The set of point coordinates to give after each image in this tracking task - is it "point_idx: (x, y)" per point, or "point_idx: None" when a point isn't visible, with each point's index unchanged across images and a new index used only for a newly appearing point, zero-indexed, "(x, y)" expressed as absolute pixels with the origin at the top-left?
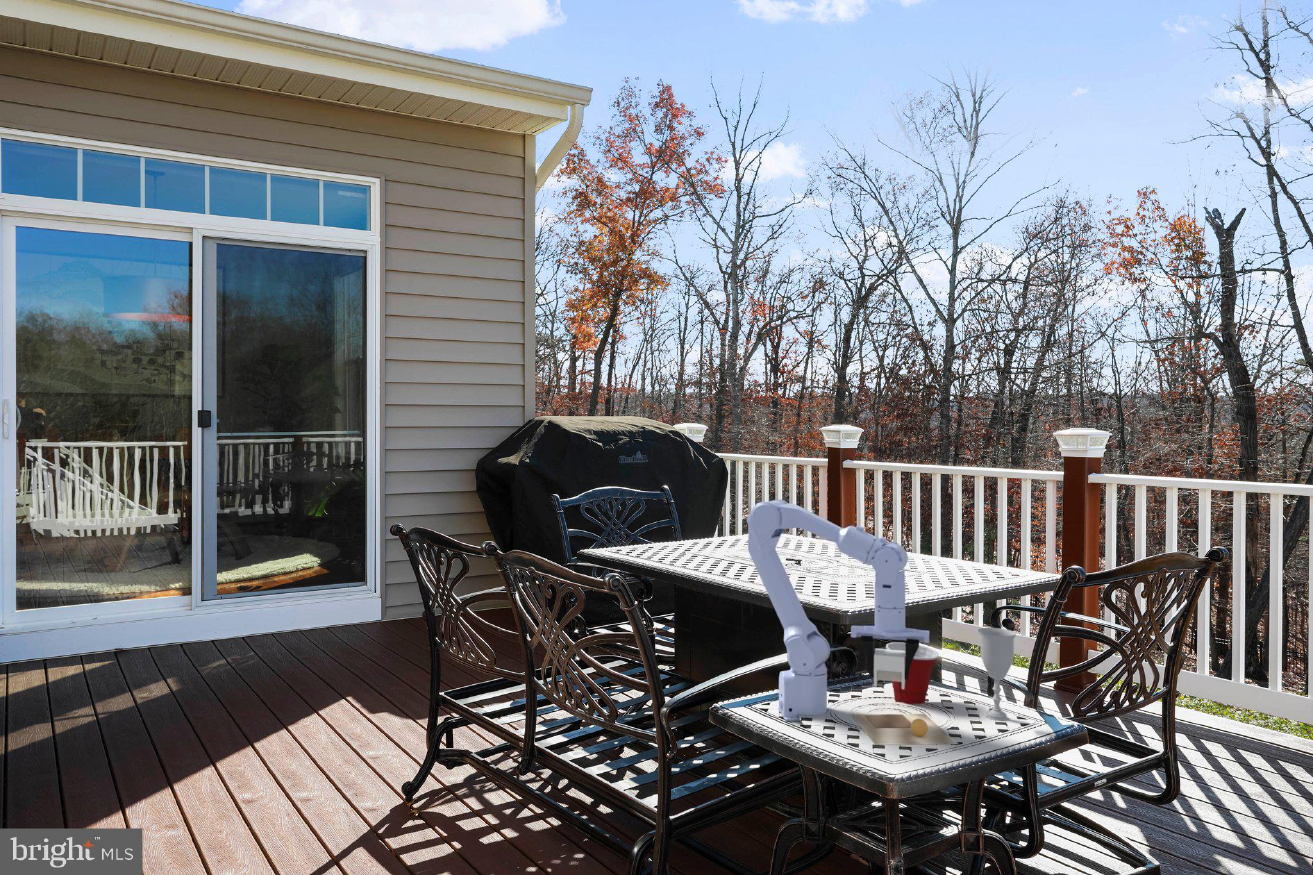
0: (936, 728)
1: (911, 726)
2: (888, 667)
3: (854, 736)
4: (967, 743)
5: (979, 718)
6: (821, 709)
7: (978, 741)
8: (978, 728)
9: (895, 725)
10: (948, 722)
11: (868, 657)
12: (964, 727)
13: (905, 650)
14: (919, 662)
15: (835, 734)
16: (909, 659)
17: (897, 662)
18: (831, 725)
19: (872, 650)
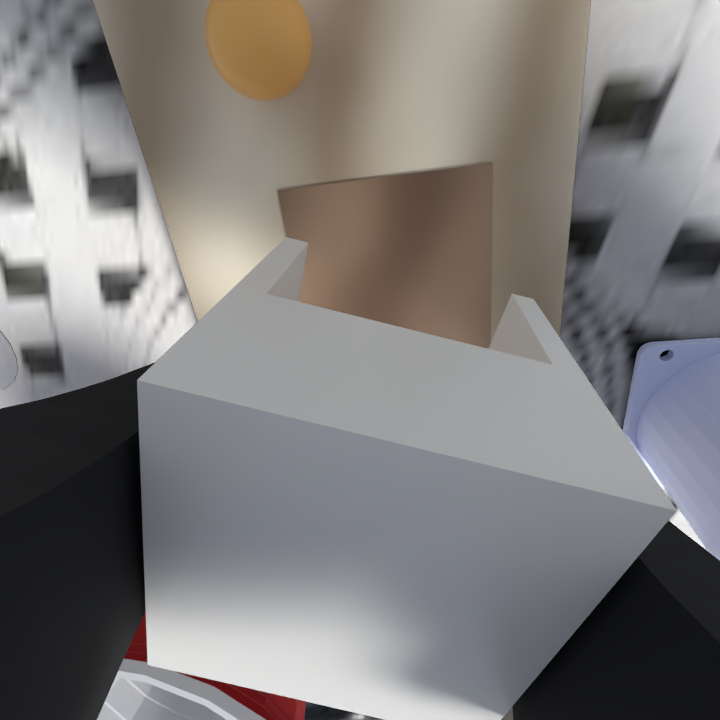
0: (177, 191)
1: (307, 27)
2: (417, 353)
3: (617, 116)
4: (49, 64)
5: (33, 398)
6: (713, 382)
7: (4, 105)
8: (25, 289)
9: (376, 210)
10: (140, 352)
11: (679, 536)
12: (78, 297)
13: (30, 495)
14: (141, 644)
15: (716, 141)
16: (92, 408)
17: (287, 361)
18: (669, 285)
19: (709, 622)
